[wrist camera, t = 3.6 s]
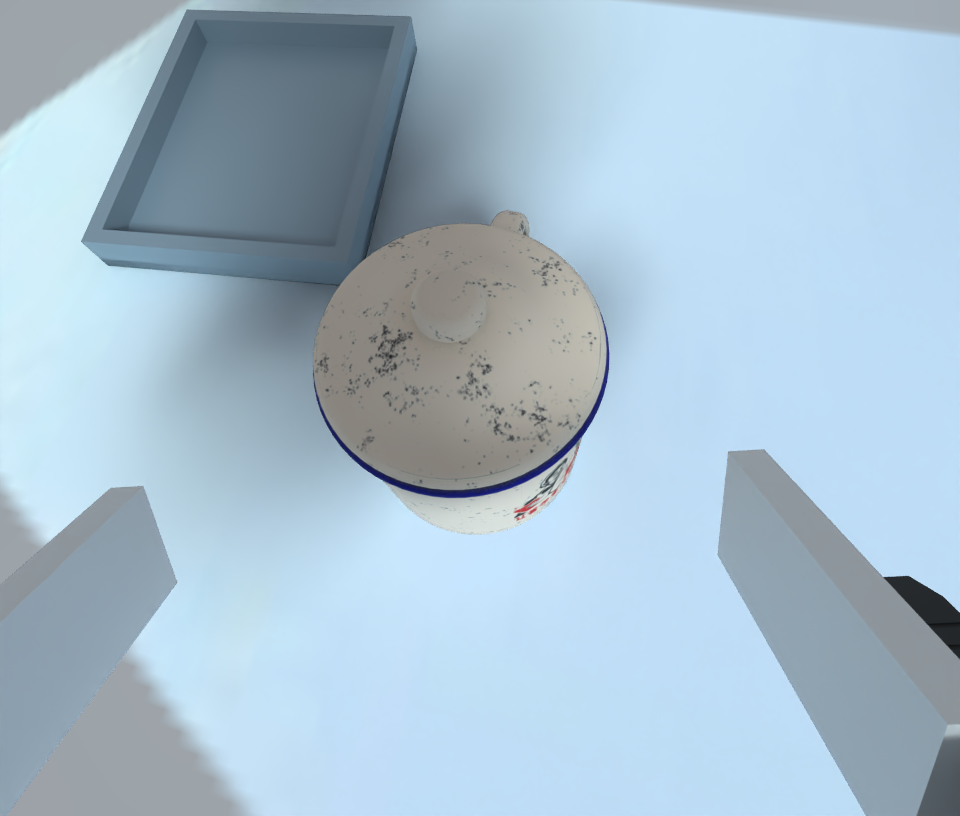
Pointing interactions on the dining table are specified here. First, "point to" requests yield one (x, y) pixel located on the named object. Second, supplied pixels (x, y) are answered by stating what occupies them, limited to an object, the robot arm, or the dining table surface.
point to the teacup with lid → (463, 371)
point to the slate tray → (260, 147)
